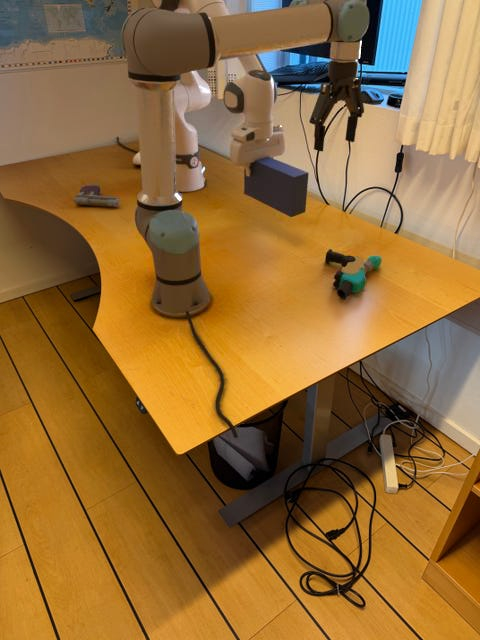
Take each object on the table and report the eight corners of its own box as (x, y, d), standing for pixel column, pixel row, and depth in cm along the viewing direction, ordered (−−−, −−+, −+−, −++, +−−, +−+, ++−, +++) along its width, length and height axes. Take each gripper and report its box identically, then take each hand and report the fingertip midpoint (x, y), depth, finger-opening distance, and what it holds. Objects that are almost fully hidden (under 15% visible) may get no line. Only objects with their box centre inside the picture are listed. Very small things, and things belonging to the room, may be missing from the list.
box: (305, 212, 149) (308, 172, 142) (291, 217, 146) (293, 177, 139) (257, 189, 164) (258, 152, 157) (244, 193, 162) (244, 156, 154)
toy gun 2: (303, 279, 125) (359, 293, 119) (335, 240, 143) (384, 251, 138) (302, 294, 128) (356, 308, 122) (333, 254, 146) (382, 265, 140)
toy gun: (131, 195, 187) (116, 210, 175) (87, 192, 190) (69, 207, 178) (130, 185, 185) (114, 200, 173) (85, 182, 188) (67, 197, 176)
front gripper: (362, 54, 130) (351, 134, 143) (299, 63, 117) (294, 151, 129) (385, 57, 126) (372, 140, 138) (322, 66, 112) (314, 157, 125)
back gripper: (277, 121, 155) (275, 164, 163) (226, 132, 145) (227, 177, 153) (290, 126, 151) (287, 169, 159) (239, 137, 141) (239, 182, 149)
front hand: (334, 145), depth 134 cm, fingers open, 13 cm apart
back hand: (257, 173), depth 156 cm, fingers closed on box, 6 cm apart
